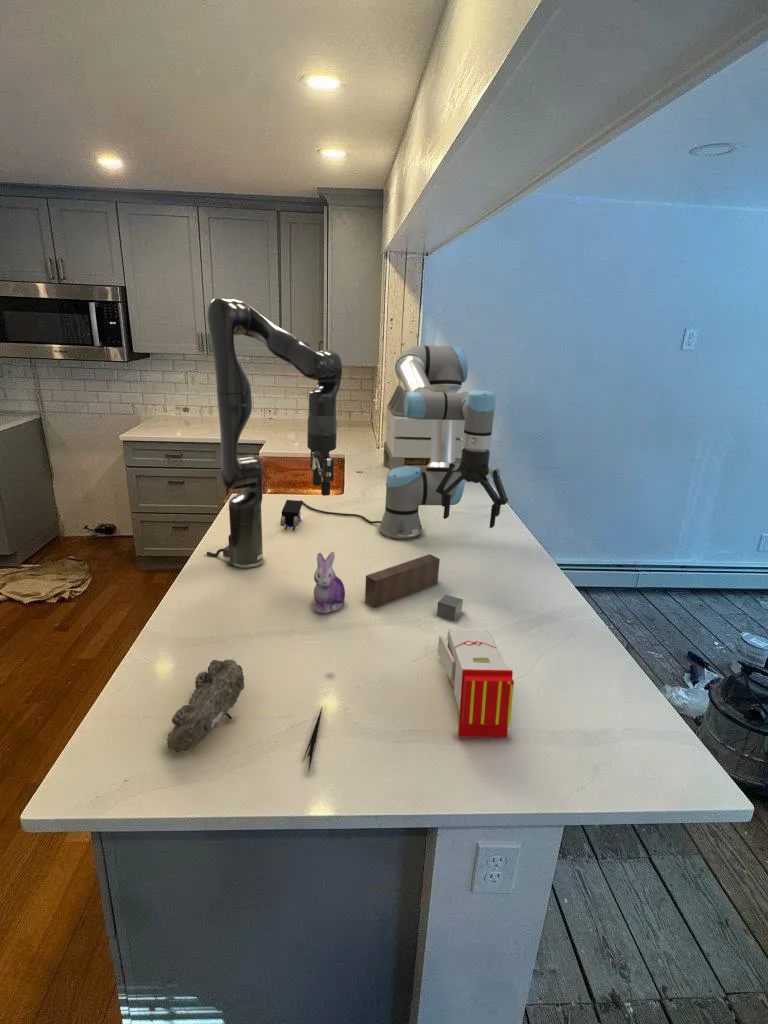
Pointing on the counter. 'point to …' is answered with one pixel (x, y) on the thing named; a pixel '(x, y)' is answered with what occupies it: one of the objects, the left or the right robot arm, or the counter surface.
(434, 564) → the walnut bar
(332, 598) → the figurine
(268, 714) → the counter surface
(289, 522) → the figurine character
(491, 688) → the toy
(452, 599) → the slate block
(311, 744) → the feather
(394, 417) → the white slatted crate
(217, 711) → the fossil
